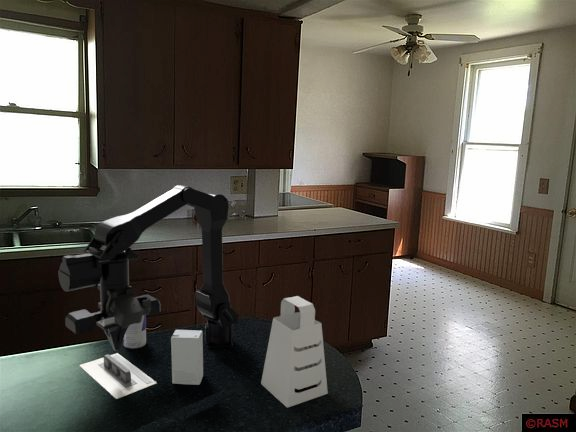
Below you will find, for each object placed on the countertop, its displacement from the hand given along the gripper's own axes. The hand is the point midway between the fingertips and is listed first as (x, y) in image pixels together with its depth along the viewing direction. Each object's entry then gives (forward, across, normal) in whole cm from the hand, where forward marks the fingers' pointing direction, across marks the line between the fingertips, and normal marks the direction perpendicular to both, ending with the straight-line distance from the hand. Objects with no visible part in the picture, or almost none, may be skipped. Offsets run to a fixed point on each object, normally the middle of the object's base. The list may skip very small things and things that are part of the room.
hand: (116, 350), depth 100 cm
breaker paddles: (+6, 0, 0) cm, 6 cm away
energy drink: (+7, +10, +11) cm, 17 cm away
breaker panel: (+7, 0, 0) cm, 7 cm away
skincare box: (+7, +10, -12) cm, 17 cm away
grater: (+7, +27, -28) cm, 39 cm away
